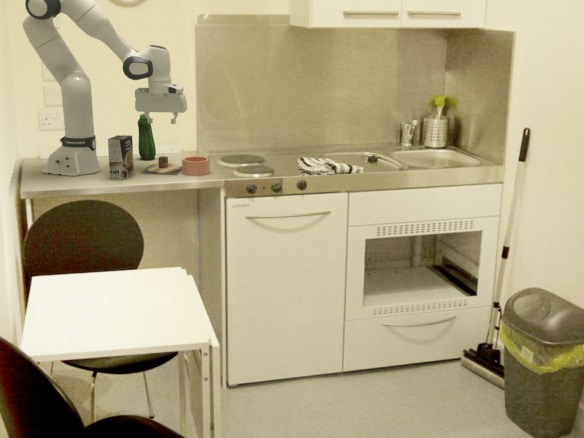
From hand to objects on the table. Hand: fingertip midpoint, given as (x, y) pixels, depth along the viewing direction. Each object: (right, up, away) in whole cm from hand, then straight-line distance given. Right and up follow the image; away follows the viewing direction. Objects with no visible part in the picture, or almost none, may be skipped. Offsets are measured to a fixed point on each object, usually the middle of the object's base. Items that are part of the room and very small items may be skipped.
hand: (161, 123), depth 294 cm
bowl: (+13, -20, +2) cm, 24 cm away
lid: (0, -18, +6) cm, 19 cm away
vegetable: (-10, -13, +26) cm, 30 cm away
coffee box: (-14, -22, -6) cm, 27 cm away
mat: (0, -18, +6) cm, 19 cm away
